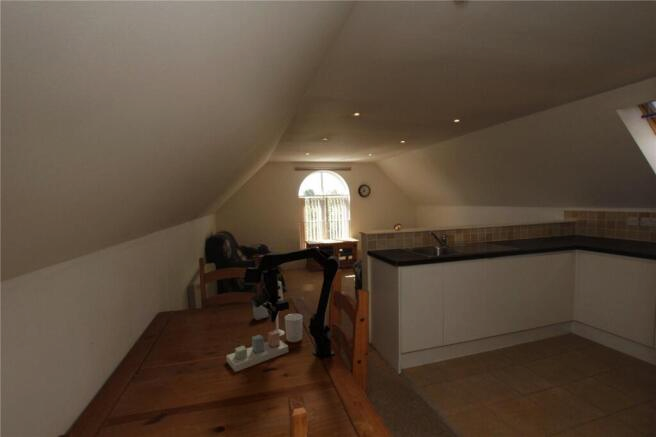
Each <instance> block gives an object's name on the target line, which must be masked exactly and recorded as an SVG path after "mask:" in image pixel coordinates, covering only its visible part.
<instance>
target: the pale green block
mask: <svg viewBox="0 0 656 437" xmlns="http://www.w3.org/2000/svg"><path fill="white" fill-rule="evenodd" d="M234 353H235V358H236V359H237V360H241V359H243V358H246V357H247V348H246V347H245V345H241V346H237V347H235V348H234Z"/></svg>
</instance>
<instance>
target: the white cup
mask: <svg viewBox="0 0 656 437" xmlns="http://www.w3.org/2000/svg"><path fill="white" fill-rule="evenodd" d="M303 318H304V317H303V315H302V314H300V313H288V314H287V315H284V323H285V324H284V325H285V327H284V328H285V335H286V341H287V342H290V343H297V342H299V341H301V340H302V339H303Z"/></svg>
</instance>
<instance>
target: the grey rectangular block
mask: <svg viewBox="0 0 656 437" xmlns="http://www.w3.org/2000/svg"><path fill="white" fill-rule="evenodd" d="M264 343H265V340H264V337H263V335H261V334H257V335H255V336H252V337H251V347H252V350H253V351H254V352H256V353H257V352H260V351H263V350H264Z"/></svg>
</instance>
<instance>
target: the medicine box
mask: <svg viewBox="0 0 656 437" xmlns="http://www.w3.org/2000/svg"><path fill="white" fill-rule="evenodd" d="M252 308H253V311H252V312H253V319H255V320H256V321H259V320H262V319H265V318H270V317H269V314H268V311H267V309H266V308H265V307H263V306H262V305H261V306H260V307H255V306H253V305H252Z"/></svg>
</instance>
